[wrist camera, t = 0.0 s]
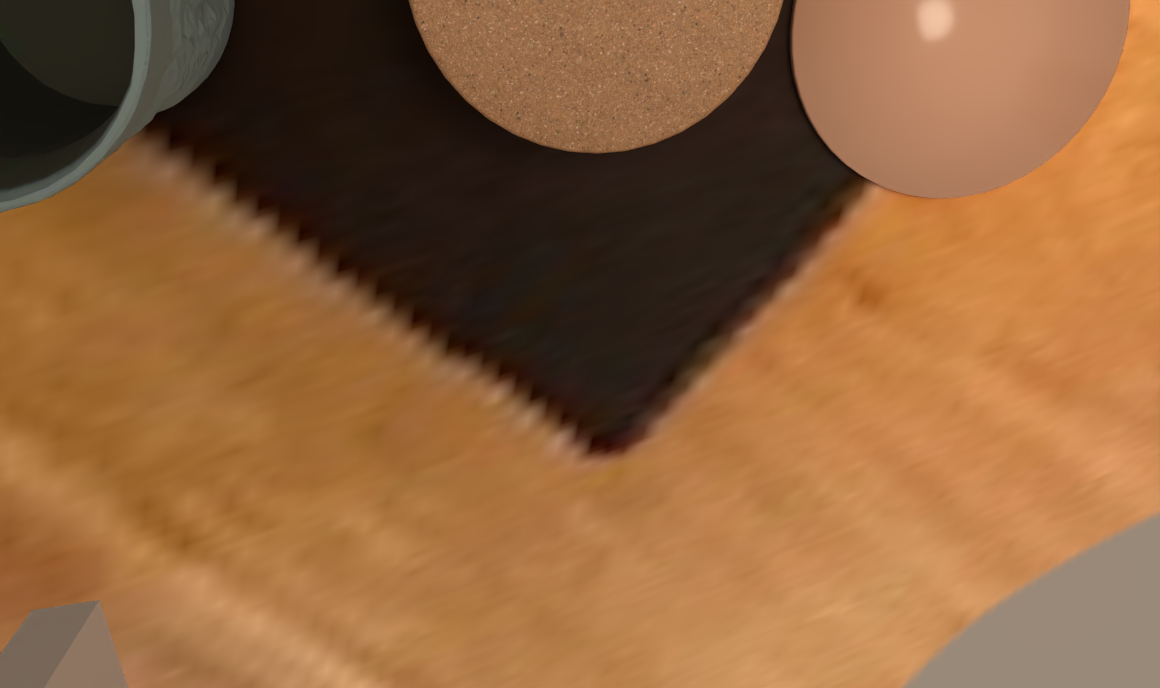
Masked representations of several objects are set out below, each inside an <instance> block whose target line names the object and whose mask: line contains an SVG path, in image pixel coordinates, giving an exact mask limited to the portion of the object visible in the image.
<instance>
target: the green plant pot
mask: <svg viewBox="0 0 1160 688" xmlns="http://www.w3.org/2000/svg"><path fill="white" fill-rule="evenodd" d="M234 5H235V1H234V0H0V212H4V211H8V210H11V209H15V208H19V207H23V206H26V205H30V204H34V203H36V202H39V201H41V200H44V199H46V198H49V197H51V196H54V195H55V194H57V193H59V192H60V191H62V190H64V189H66V188H67V187H69V186H71V185H73V184H74V183H76V182H77V181H78V180H80V179H81V178H82V177H84V176H85V175H86V174H88V173H89V172H90V171H91V170H92V169H94V168H95V167H96V166H97V165H98V164H99V163H100V162H102V161H103V160H104V159H105V158H107V157H108V156H109V155H111V154H112V153H113V152H115V151H116V150H117V149H118V148H119V147H120V146H121V145H122V144H123V143H124V142H125V141H126V140H127V139H129V138H130V137H132V136H133V135H135V134H136V133H138V132H139V131H140V130H141V129H142V128H143V127H144V126H145V125H147V124H148V123H149V122H150V121H152V119H153V118H154V116H155V114H156V113H157V112H160V111H163V110H165V109H168V108H170V107H172V106H174V105H176V104H177V103H179V102H180V101H181V100H183V99H184V98H185V97H186V96H188V95H189V94H190V93H191V92H192V91H194V90H195V89H196V88H197V87H198V86H199V85H200V84H201V83H202V82H203V81H204V80H205V79H206V78H207V77H208V76H209V74H210V73H211V72H212V70H213V69H214V68H215V66H216V64H217V63H218V61H219V60H220V58H221V56H222V54H223V51H224V49H225V47H226V44H227V42H228V38H229V34H230V31H231V27H232V23H233V14H234Z"/></svg>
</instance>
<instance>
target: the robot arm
mask: <svg viewBox="0 0 1160 688" xmlns="http://www.w3.org/2000/svg"><path fill="white" fill-rule="evenodd" d="M0 688H128V686H127V683H126V680H125V677H124V674H123V671H122V668H121V665H120V662H119V659H118V656H117V653H116V650H115V647H114V643H113V640H112V637H111V634H110V631H109V628H108V625H107V622H106V619H105V616H104V613H103V610H102V607H101V604H100V601H99V600H98V601H92V602H85V603H78V604H71V605H64V606H58V607H51V608H44V609H37V610H32V611H31V612H30V614H29V615H28V616H27V618H26V619H25V621H24V622H23V623H22V625H21V626H20V627H19V629H18V630H17V632H16V633H15V634H14V636H13V637H12V639H11V640H10V641H9V643H8V644H7V645H6V647H5V648H4V650H3V651H2V652H1V654H0Z"/></svg>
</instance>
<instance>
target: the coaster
mask: <svg viewBox="0 0 1160 688" xmlns="http://www.w3.org/2000/svg"><path fill="white" fill-rule="evenodd" d="M1129 11H1130V0H794V1H793V5H792V13H791V21H790V29H789V52H790V60H791V69H792V75H793V79H794V83H795V87H796V91H797V95H798V97H799V100H800V102H801V105H802V107H803V109H804V112H805V114H806V116H807V118H808V120H809V121H810V123H811V125H812V127H813V128H814V130H815V132H816V133H817V135H818V136H819V137H820V138H821V140H822V141H823V142H824V144H825V145H826V146H827V147H828V149H829V150H830V151H831V152H832V153H833V154H835V155H836V156H837V157H838V158H839V159H840V160H841V161H842V162H843V163H844V164H846V165H847V166H848V167H850V168H851V169H853V170H854V171H855V172H857V173H858V174H860V175H861V176H863V177H865V178H867V179H868V180H870V181H872V182H874V183H876V184H878V185H880V186H882V187H885V188H888V189H890V190H893V191H896V192H899V193H902V194H907V195H912V196H917V197H925V198H955V197H965V196H970V195H975V194H980V193H984V192H987V191H990V190H993V189H996V188H999V187H1002V186H1005V185H1007V184H1009V183H1011V182H1013V181H1015V180H1017V179H1019V178H1021V177H1024V176H1025V175H1027V174H1028V173H1030V172H1032V171H1033V170H1035V169H1036V168H1038V167H1040V166H1041V165H1043V164H1044V163H1045V162H1047V161H1048V160H1049V159H1050V158H1052V157H1053V156H1054V155H1055V154H1057V153H1058V152H1059V151H1060V150H1061V149H1062V148H1063V147H1064V146H1065V145H1066V144H1067V143H1068V142H1069V141H1070V140H1071V139H1072V138H1073V137H1074V136H1075V135H1076V134H1077V133H1078V132H1079V131H1080V129H1081V128H1082V127H1083V126H1084V124H1085V123H1086V122H1087V121H1088V119H1089V118H1090V117H1091V116H1092V114H1093V113H1094V111H1095V109H1096V108H1097V106H1098V105H1099V103H1100V101H1101V100H1102V98H1103V97H1104V95H1105V93H1106V91H1107V89H1108V87H1109V85H1110V83H1111V80H1112V78H1113V76H1114V74H1115V71H1116V69H1117V66H1118V63H1119V60H1120V57H1121V54H1122V51H1123V47H1124V43H1125V38H1126V34H1127V29H1128V20H1129Z"/></svg>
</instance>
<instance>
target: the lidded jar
mask: <svg viewBox="0 0 1160 688" xmlns="http://www.w3.org/2000/svg"><path fill="white" fill-rule="evenodd" d="M782 3H783V0H409V4H410V7H411V10H412V14H413V17H414V21H415V24H416V26H417V28H418V30H419V32H420V35H421V37H422V39H423V41H424V43H425V46H426V48H427V50H428V52H429V54H430V55H431V57H432V58H433V60H434V61H435V63H436V64H437V66H438V67H439V69H440V70H441V72H442V73H443V75H444V77H445V78H446V79H447V80H448V81H449V82H450V84H451V85H452V86H453V87H454V88H455V89H456V90H457V91H458V93H459V94H460V95H461V96H462V97H463V98H464V99H465V100H466V101H467V102H468V103H469V104H471V105H472V106H473V107H474V108H475V109H477V110H478V111H479V112H480V113H481V114H483V115H484V116H485V117H486V118H488V119H489V120H490V121H492V122H494V123H496V124H497V125H499V126H501V127H502V128H504V129H506V130H507V131H509V132H511V133H512V134H514V135H517V136H519V137H522V138H524V139H527V140H529V141H532V142H534V143H537V144H539V145H542V146H547V147H551V148H555V149H560V150H564V151H569V152H583V153H608V152H619V151H628V150H632V149H635V148H639V147H643V146H647V145H651V144H655V143H657V142H659V141H662V140H664V139H666V138H669V137H671V136H673V135H676V134H678V133H680V132H682V131H684V130H686V129H687V128H689V127H690V126H692V125H693V124H695V123H697V122H698V121H700V120H701V119H703V118H705V117H706V116H707V115H709V114H710V113H711V112H712V111H713V110H714V109H716V108H717V107H718V106H719V105H720V104H721V103H723V102H724V101H725V100H726V99H727V98H728V97H729V96H730V95H731V94H732V93H733V92H734V91H735V89H736V88H737V87H738V86H739V85H740V84H741V82H742V81H743V80H744V79H745V78H746V77H747V75H748V74H749V73H750V71H751V70H752V68H753V66H754V65H755V63H756V62H757V60H758V59H759V57H760V55H761V54H762V52H763V51H764V49H765V47H766V45H767V43H768V41H769V38H770V36H771V34H772V32H773V29H774V27H775V25H776V23H777V20H778V17H779V14H780V10H781V7H782Z"/></svg>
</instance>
